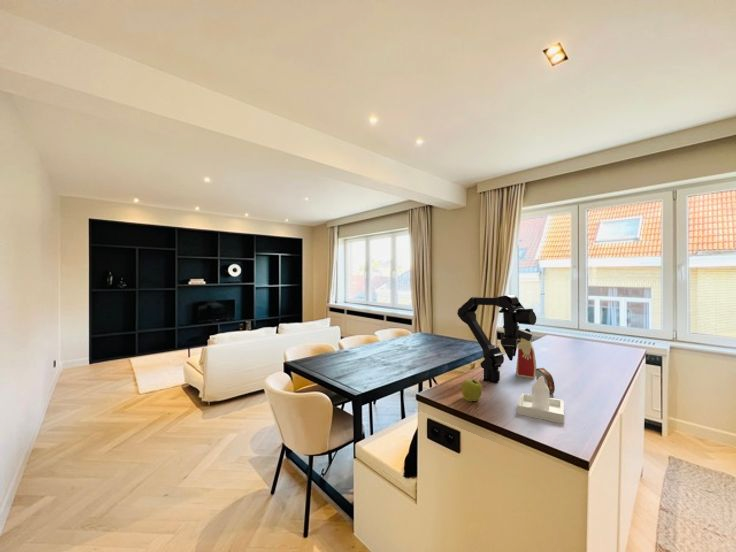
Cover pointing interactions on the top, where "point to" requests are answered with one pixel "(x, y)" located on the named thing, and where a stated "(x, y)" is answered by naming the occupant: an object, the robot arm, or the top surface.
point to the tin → (546, 378)
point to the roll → (540, 394)
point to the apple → (471, 390)
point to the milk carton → (526, 359)
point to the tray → (552, 414)
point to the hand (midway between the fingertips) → (512, 358)
